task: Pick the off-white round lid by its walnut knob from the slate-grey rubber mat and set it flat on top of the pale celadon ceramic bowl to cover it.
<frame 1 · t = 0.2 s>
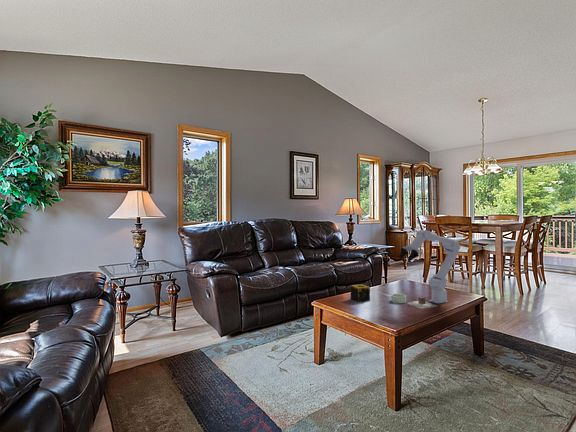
hand: (403, 259, 209), 31 cm above the table, tool tilted 45°, fingers open, 7 cm apart
mat: (422, 305, 212), on the table
lid: (422, 304, 212), resting on mat
bowl: (398, 302, 220), on the table
candle: (360, 300, 227), on the table
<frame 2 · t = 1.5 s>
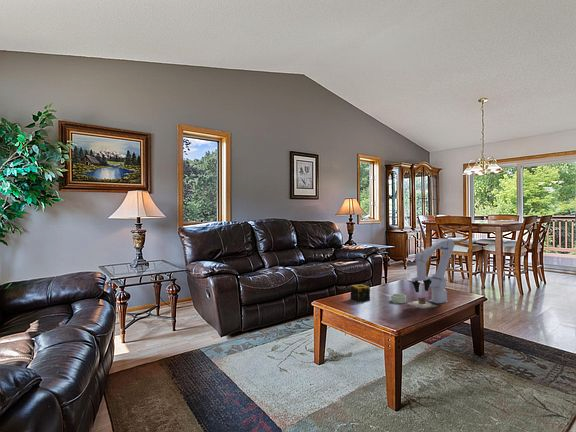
hand: (421, 291, 212), 9 cm above the table, tool pointing down, fingers open, 7 cm apart
nothing on the table moved.
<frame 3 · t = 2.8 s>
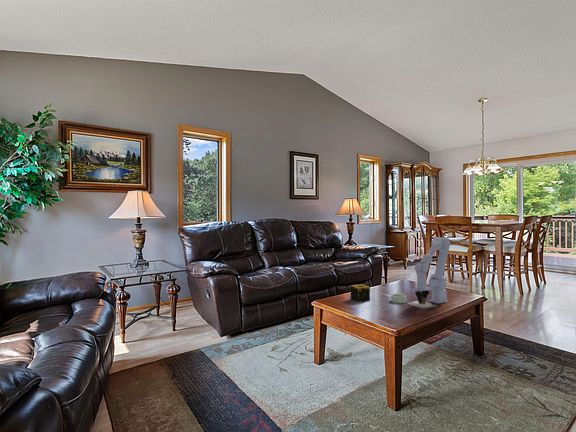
hand: (422, 302, 212), 2 cm above the table, tool pointing down, fingers closed on lid, 3 cm apart
lid: (422, 304, 212), resting on mat, touching gripper
everything else where it was.
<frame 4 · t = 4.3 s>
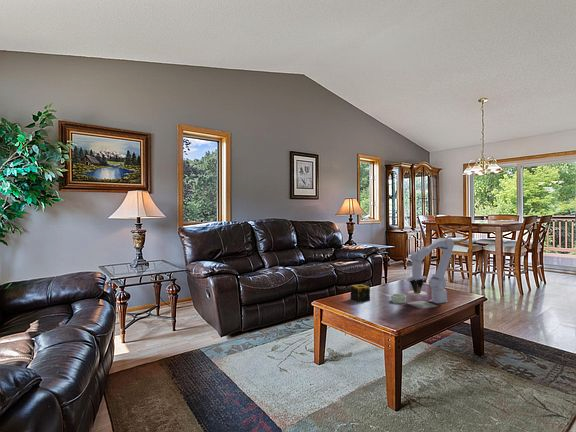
hand: (417, 290, 214), 9 cm above the table, tool pointing down, fingers closed on lid, 3 cm apart
lid: (417, 293, 214), point 7 cm above the table, touching gripper
everything else where it was.
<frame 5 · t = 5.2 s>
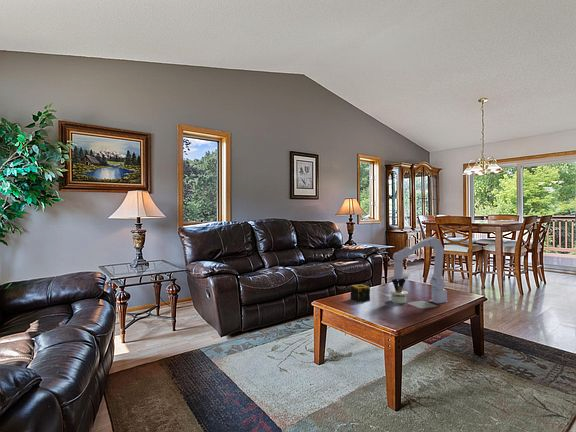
hand: (398, 289, 220), 8 cm above the table, tool pointing down, fingers closed on lid, 3 cm apart
lid: (398, 292, 220), point 6 cm above the table, touching gripper
everything else where it was.
when the fingers open (7 cm above the table, at t = 5.6 s): lid stays where it is, resting on bowl.
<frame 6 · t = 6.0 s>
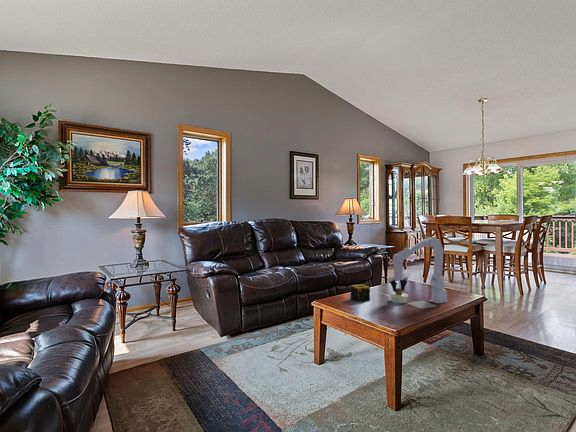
hand: (398, 291, 220), 8 cm above the table, tool pointing down, fingers open, 6 cm apart
lid: (398, 295, 220), point 4 cm above the table, touching bowl
everything else where it was.
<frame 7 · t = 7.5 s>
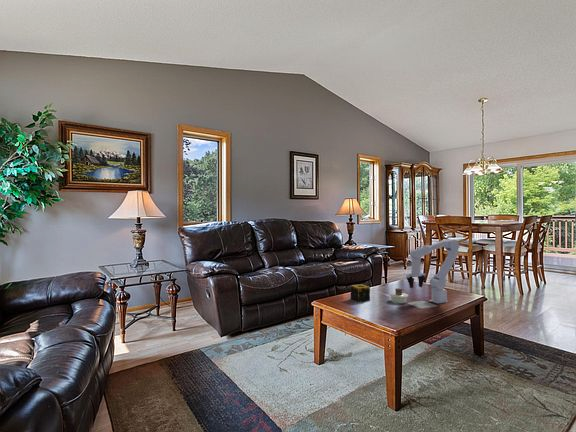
hand: (416, 287, 218), 10 cm above the table, tool pointing down, fingers open, 7 cm apart
nothing on the table moved.
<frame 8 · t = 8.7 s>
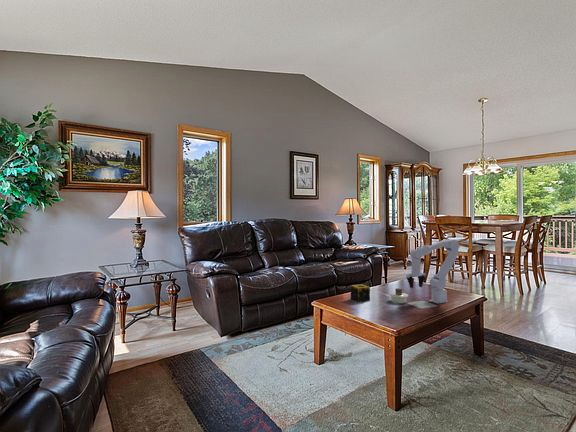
hand: (416, 287, 218), 10 cm above the table, tool pointing down, fingers open, 7 cm apart
nothing on the table moved.
at the end: lid 0.1 cm off-centre on the bowl, point 4.5 cm above the bowl's base; lid tilted 0°; the gripper is holding nothing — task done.
